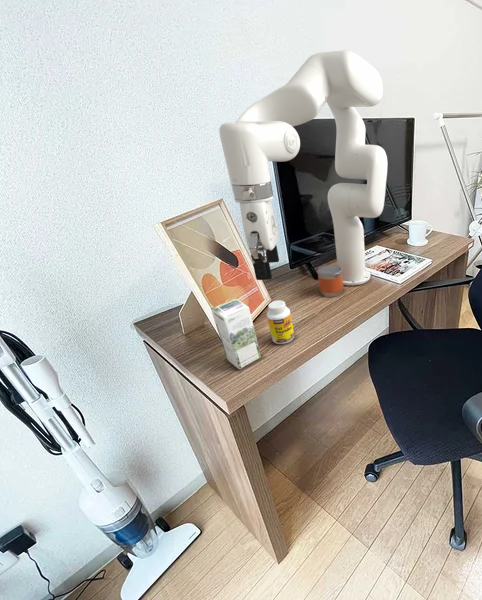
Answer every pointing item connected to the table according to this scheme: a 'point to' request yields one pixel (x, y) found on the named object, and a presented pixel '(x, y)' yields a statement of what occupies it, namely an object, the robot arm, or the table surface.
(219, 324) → the syrup box
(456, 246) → the table surface
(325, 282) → the tin can
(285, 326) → the supplement bottle
